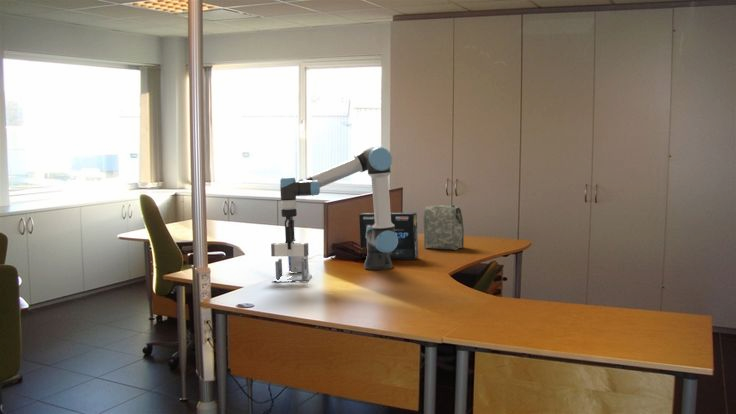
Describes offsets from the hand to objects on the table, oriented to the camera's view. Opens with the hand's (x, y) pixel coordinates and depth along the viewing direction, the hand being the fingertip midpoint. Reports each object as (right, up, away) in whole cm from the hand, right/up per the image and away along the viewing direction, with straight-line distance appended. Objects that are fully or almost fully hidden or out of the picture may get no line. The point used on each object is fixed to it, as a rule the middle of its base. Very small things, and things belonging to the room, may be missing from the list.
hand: (290, 254), depth 343 cm
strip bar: (0, 0, 0) cm, 1 cm away
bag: (+86, -2, +86) cm, 122 cm away
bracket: (+1, -13, +1) cm, 13 cm away
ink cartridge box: (+2, -11, +21) cm, 24 cm away
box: (+51, -6, +55) cm, 75 cm away
